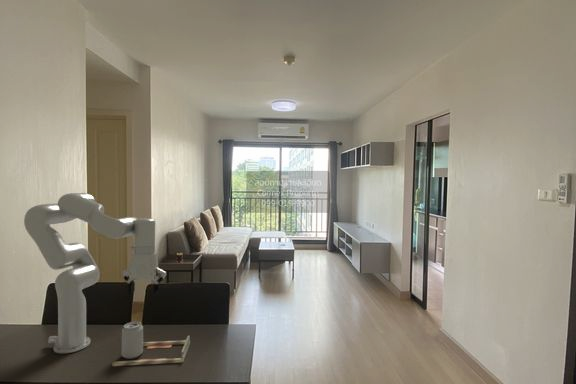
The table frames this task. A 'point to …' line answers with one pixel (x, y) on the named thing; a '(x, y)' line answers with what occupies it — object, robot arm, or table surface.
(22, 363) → the table surface
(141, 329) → the can
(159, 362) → the tan bent flat bar
